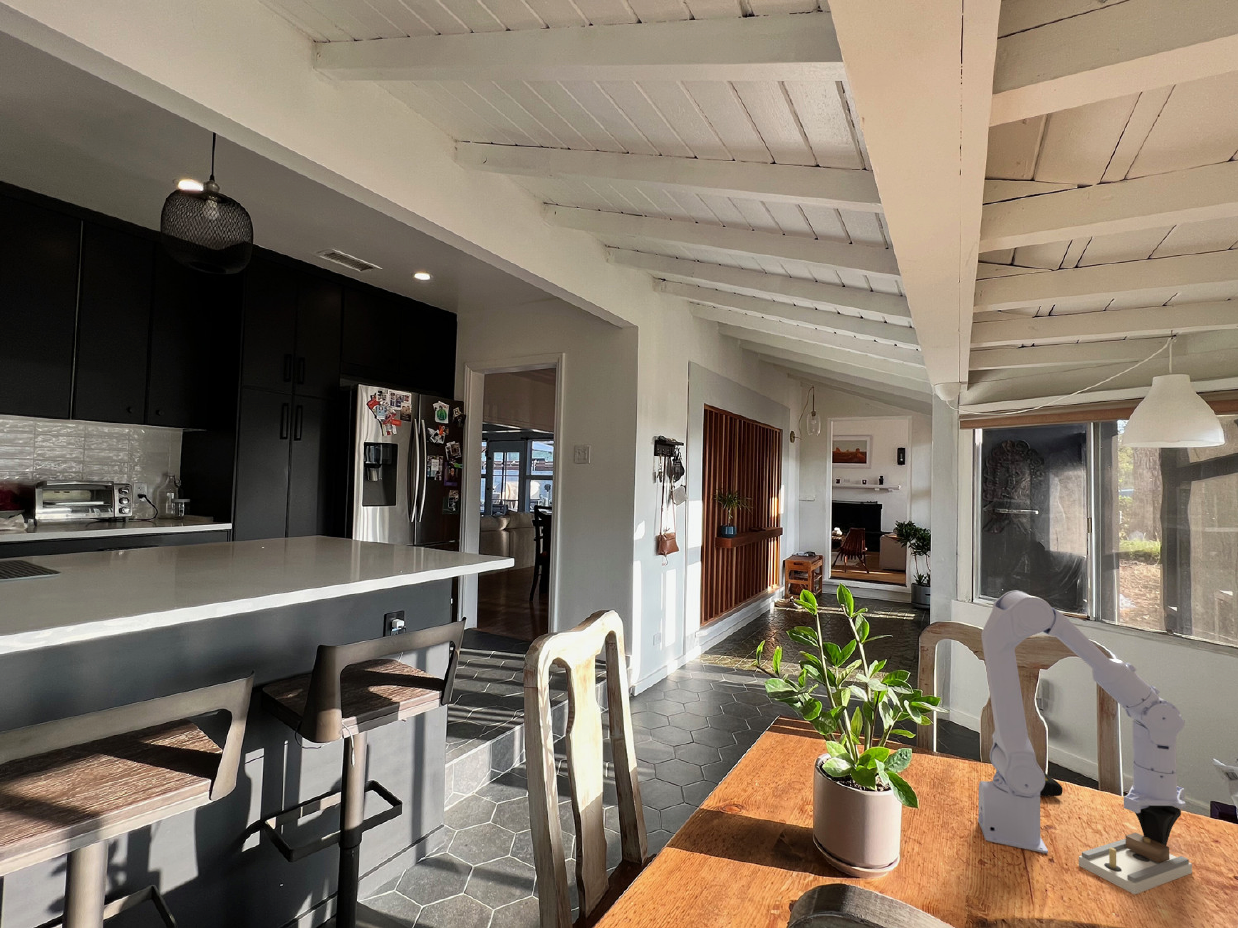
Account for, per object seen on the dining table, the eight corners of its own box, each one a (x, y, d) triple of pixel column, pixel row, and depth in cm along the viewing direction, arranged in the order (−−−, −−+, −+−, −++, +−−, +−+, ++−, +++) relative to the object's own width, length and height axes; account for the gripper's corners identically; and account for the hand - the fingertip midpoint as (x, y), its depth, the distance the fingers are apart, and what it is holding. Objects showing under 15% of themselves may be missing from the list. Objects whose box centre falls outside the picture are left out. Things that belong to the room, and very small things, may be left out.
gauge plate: (1134, 894, 95) (1134, 865, 95) (1078, 865, 102) (1078, 838, 102) (1192, 872, 101) (1191, 845, 101) (1135, 846, 108) (1135, 821, 109)
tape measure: (1064, 801, 125) (1064, 783, 125) (1028, 798, 126) (1028, 779, 126) (1045, 786, 132) (1045, 769, 132) (1011, 783, 133) (1011, 765, 133)
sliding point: (1159, 862, 100) (1159, 847, 100) (1125, 847, 105) (1125, 832, 105) (1169, 859, 101) (1169, 843, 102) (1135, 844, 106) (1135, 829, 106)
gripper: (1158, 782, 98) (1160, 869, 98) (1206, 770, 104) (1207, 851, 103) (1109, 764, 105) (1110, 845, 104) (1156, 753, 111) (1157, 830, 110)
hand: (1155, 847), depth 104 cm, fingers closed
